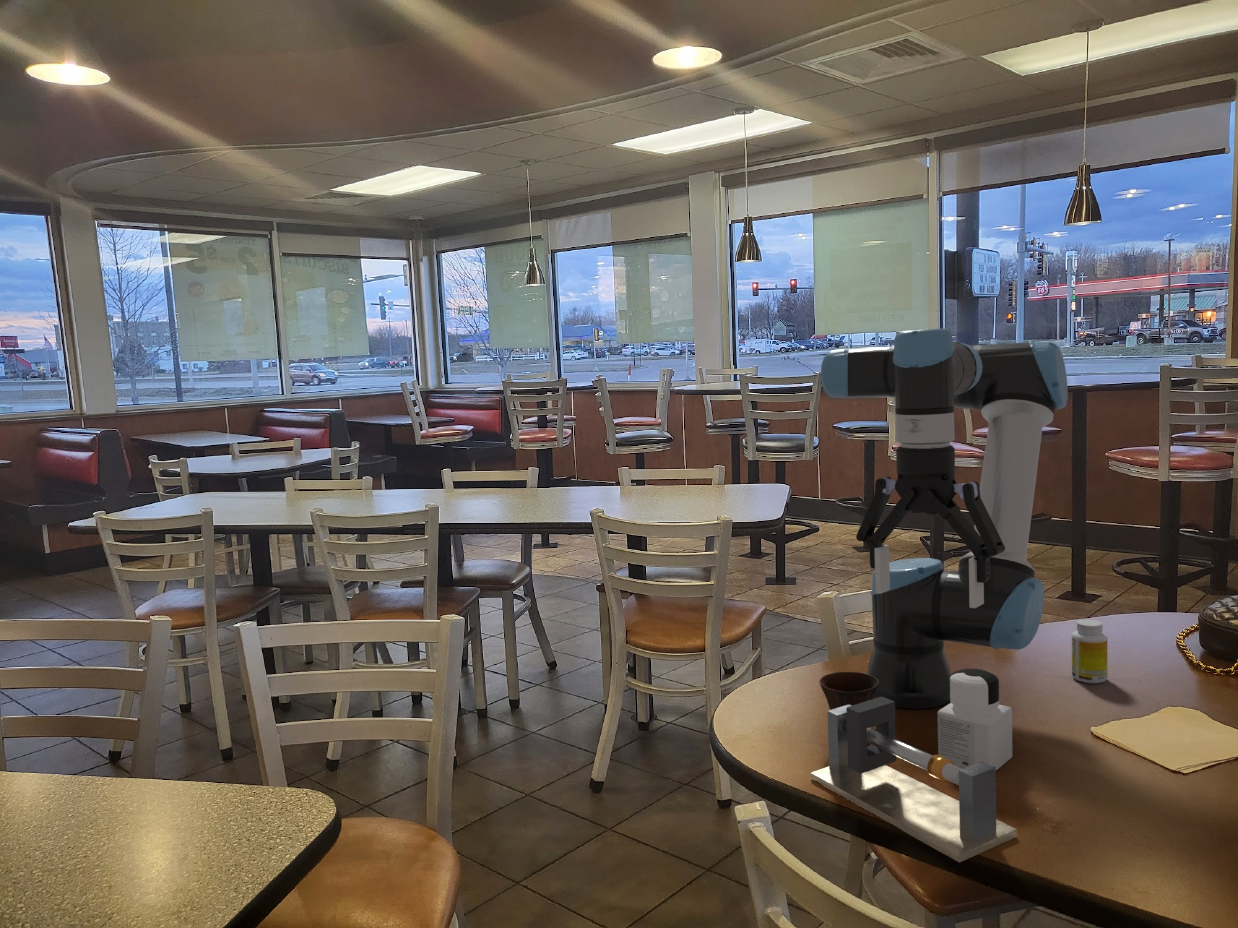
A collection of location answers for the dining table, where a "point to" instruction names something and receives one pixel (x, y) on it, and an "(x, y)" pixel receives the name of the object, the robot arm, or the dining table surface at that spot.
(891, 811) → the rail
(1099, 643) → the supplement bottle
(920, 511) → the robot arm
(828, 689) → the cup
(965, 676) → the container
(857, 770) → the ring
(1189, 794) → the dining table surface
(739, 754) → the dining table surface
